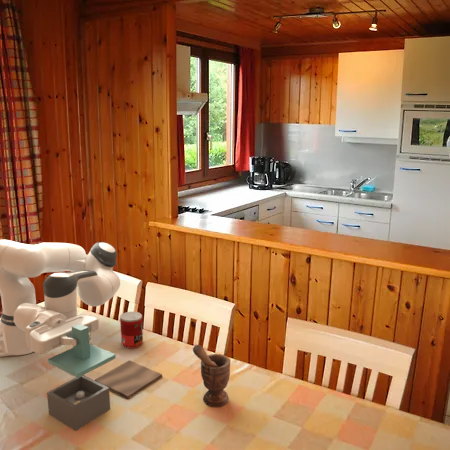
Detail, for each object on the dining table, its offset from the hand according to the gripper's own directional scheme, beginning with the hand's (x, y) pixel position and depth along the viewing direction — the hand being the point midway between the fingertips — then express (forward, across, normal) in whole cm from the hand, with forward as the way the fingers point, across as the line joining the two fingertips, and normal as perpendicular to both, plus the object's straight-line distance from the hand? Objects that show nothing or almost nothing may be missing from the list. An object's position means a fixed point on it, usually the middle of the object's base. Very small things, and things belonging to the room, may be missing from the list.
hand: (82, 340), depth 134 cm
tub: (-2, +2, -22) cm, 22 cm away
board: (-3, -18, -22) cm, 29 cm away
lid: (-1, 0, -8) cm, 8 cm away
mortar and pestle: (+26, -25, -23) cm, 43 cm away
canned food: (-20, -36, -22) cm, 47 cm away
